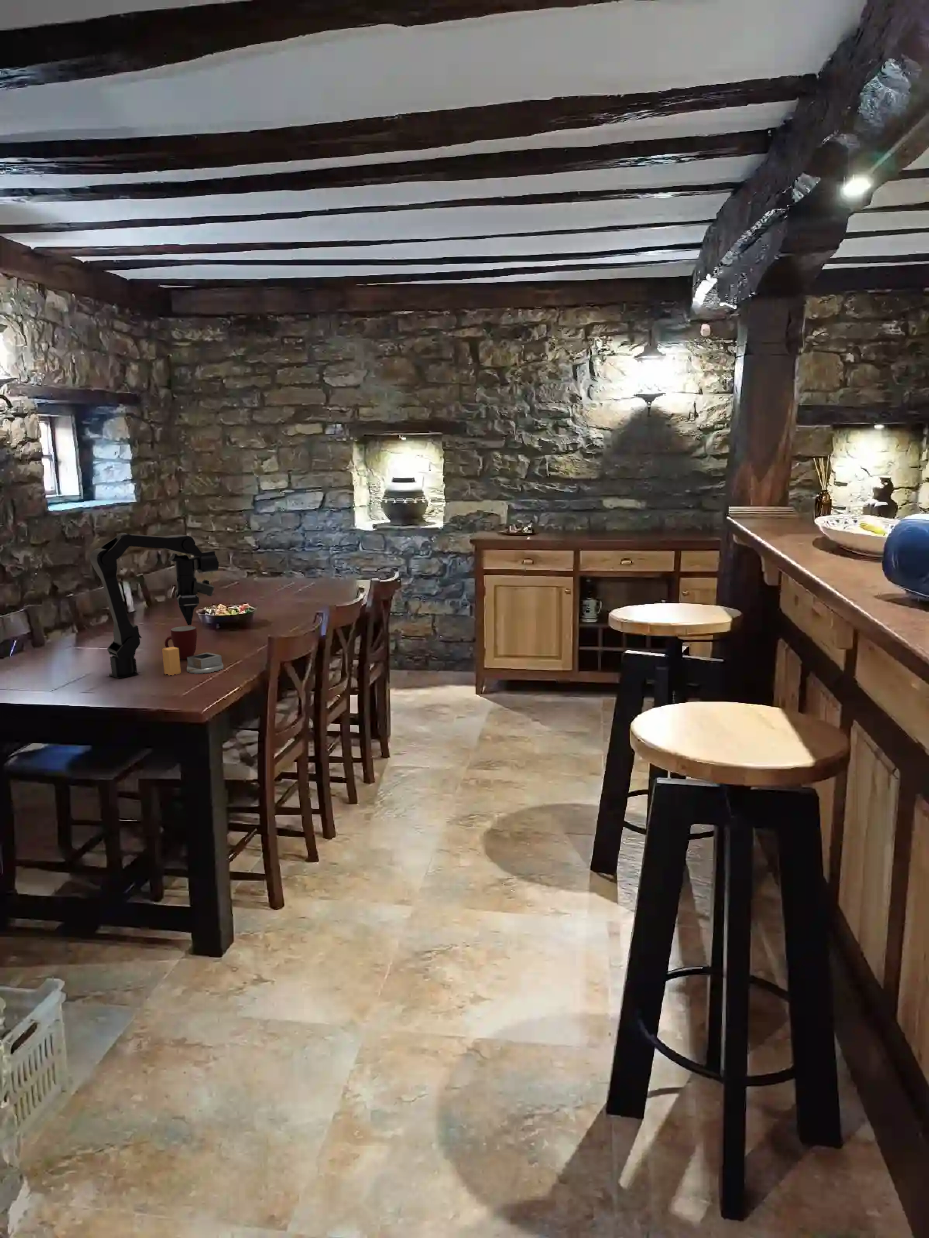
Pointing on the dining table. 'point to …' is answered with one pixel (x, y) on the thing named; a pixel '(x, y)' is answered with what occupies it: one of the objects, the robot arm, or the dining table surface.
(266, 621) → the dining table surface
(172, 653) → the orange-brown rectangular block
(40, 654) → the dining table surface
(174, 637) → the mug
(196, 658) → the silver square frame
